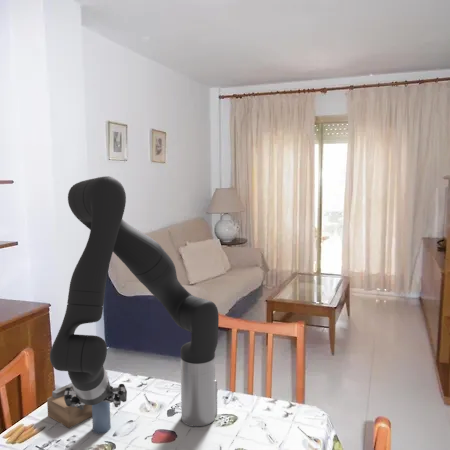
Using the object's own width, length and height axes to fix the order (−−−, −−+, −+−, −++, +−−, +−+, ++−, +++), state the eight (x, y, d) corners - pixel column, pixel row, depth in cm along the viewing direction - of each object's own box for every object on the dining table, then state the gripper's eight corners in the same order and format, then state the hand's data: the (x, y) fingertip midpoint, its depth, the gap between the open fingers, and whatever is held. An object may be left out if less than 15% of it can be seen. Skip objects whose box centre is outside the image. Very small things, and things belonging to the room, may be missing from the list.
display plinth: (79, 400, 127) (78, 379, 126) (100, 411, 121) (99, 389, 120) (47, 415, 119) (46, 393, 118) (69, 428, 113) (68, 404, 112)
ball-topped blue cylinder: (103, 421, 116) (102, 386, 115) (114, 427, 113) (113, 391, 112) (88, 429, 112) (87, 393, 111) (99, 436, 109) (98, 398, 108)
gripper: (123, 364, 101) (128, 387, 113) (60, 368, 99) (72, 391, 111) (122, 396, 96) (127, 417, 109) (55, 401, 94) (68, 422, 107)
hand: (99, 404), depth 110 cm, fingers open, 8 cm apart
